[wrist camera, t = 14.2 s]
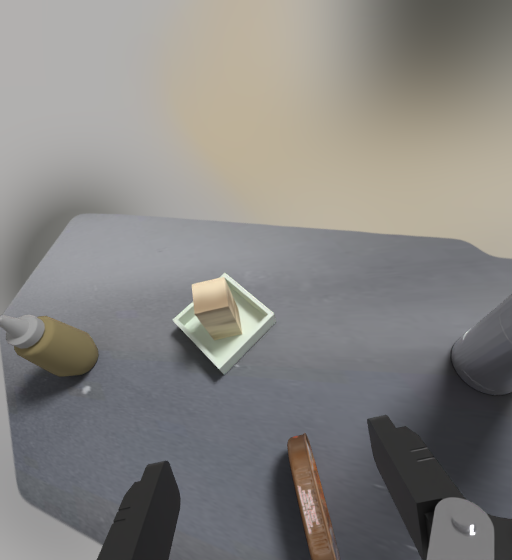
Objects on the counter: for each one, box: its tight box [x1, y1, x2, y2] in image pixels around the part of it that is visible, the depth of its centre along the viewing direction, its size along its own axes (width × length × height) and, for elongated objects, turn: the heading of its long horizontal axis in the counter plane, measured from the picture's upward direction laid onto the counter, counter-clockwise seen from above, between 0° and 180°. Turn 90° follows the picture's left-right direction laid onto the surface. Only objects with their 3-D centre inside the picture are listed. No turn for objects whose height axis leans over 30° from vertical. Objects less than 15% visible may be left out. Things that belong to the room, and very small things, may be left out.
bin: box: [173, 273, 276, 375], centre depth 54 cm, size 12×12×4 cm
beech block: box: [192, 277, 242, 340], centre depth 50 cm, size 5×5×11 cm
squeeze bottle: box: [0, 315, 98, 377], centre depth 49 cm, size 8×8×18 cm
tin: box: [287, 433, 340, 560], centre depth 38 cm, size 15×3×8 cm, turn 12°
